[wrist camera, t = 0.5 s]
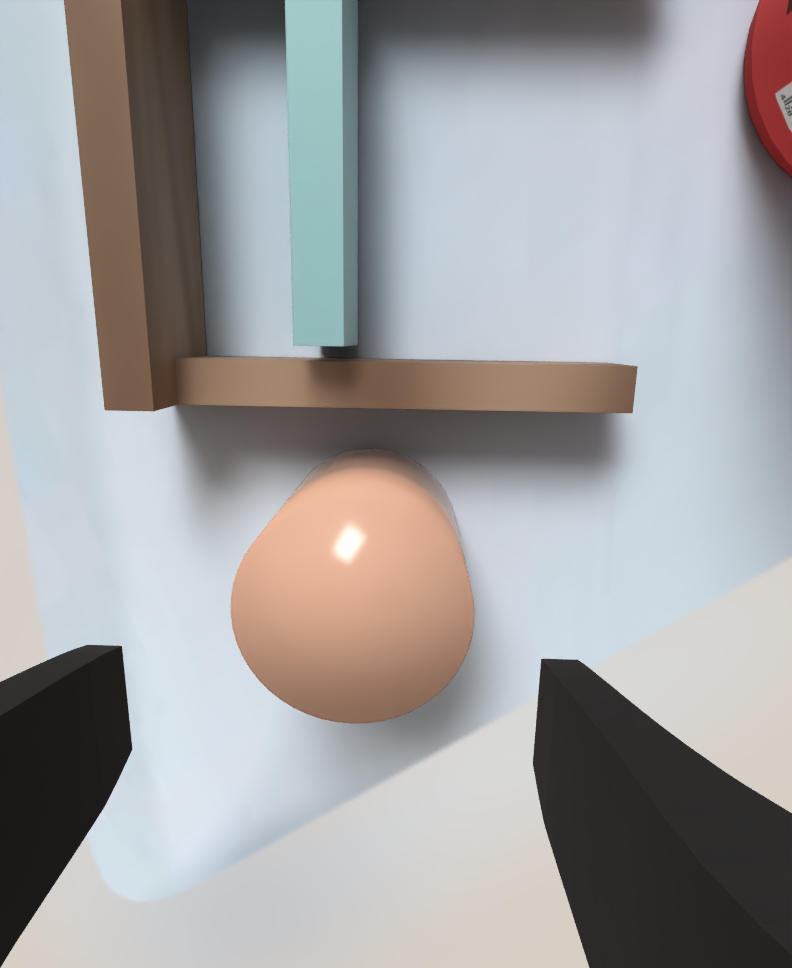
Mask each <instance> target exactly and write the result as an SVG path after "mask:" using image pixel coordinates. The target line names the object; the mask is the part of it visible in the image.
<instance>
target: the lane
mask: <svg viewBox="0 0 792 968" xmlns="http://www.w3.org/2000/svg"><path fill="white" fill-rule="evenodd" d="M64 5H65V15H66V25H67V35H68V45H69V55H70V65H71V75H72V85H73V96H74V106H75V116H76V126H77V136H78V146H79V156H80V166H81V176H82V186H83V196H84V206H85V216H86V226H87V236H88V246H89V256H90V266H91V276H92V286H93V296H94V306H95V316H96V327H97V337H98V347H99V357H100V367H101V377H102V387H103V397H104V407H105V410H119V411H156V410H160V409H163V408H167V407H171V406H174V405H226V406H278V407H331V408H383V409H436V410H488V411H540V412H593V413H632V412H633V403H634V394H635V385H636V375H637V366H630V365H621V364H613V363H593V362H534V361H475V360H415V359H356V358H297V357H237V356H207V351H206V334H205V316H204V299H203V282H202V265H201V248H200V230H199V213H198V196H197V179H196V161H195V144H194V127H193V110H192V92H191V75H190V58H189V41H188V24H187V6H186V0H64Z"/></svg>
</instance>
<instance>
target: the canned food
mask: <svg viewBox="0 0 792 968" xmlns="http://www.w3.org/2000/svg"><path fill="white" fill-rule="evenodd" d="M744 71H745V93H746V98H747V102H748V107H749V112H750V117H751V119H752V122H753V124H754V126H755V129H756V131H757V133H758V136H759V138H760V140H761V143H762V144H763V145H764V147H765V148H766V150H767V151H768V152H769V154H770V155H771V157H772V158H773V159H774V161H775V162H776V164H777V165H778V166H780V167H781V168H782V169H783V170H784V171H785V172H786V173H787V174H788V175H790V176H791V177H792V0H759V3H758V6H757V9H756V12H755V14H754V17H753V20H752V23H751V26H750V29H749V35H748V41H747V46H746V52H745V58H744Z"/></svg>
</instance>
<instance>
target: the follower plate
mask: <svg viewBox="0 0 792 968" xmlns="http://www.w3.org/2000/svg"><path fill="white" fill-rule="evenodd" d="M285 24H286V65H287V106H288V147H289V188H290V229H291V269H292V310H293V346H352V345H358V0H285Z"/></svg>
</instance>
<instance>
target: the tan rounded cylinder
mask: <svg viewBox="0 0 792 968" xmlns="http://www.w3.org/2000/svg"><path fill="white" fill-rule="evenodd" d="M231 618H232V626H233V631H234V634H235V638H236V642H237V644H238V647H239V649H240V651H241V654H242V656H243V658H244V659H245V661H246V663H247V664H248V666H249V668H250V669H251V671H252V672H253V673H254V674H255V676H256V677H257V678H258V680H259V681H260V682H261V683H262V684H263V685H264V686H265V687H266V688H267V689H268V690H269V691H270V692H272V693H273V694H274V695H276V696H277V697H278V698H279V699H281V700H282V701H284V702H285V703H287V704H289V705H290V706H292V707H293V708H296V709H298V710H300V711H302V712H304V713H306V714H309V715H312V716H315V717H318V718H321V719H325V720H330V721H335V722H343V723H371V722H378V721H384V720H387V719H391V718H395V717H398V716H401V715H403V714H406V713H408V712H411V711H412V710H414V709H416V708H418V707H420V706H422V705H423V704H425V703H426V702H428V701H429V700H430V699H432V698H433V697H434V696H436V695H437V694H438V693H439V692H440V691H441V690H442V689H443V688H444V687H445V686H446V685H447V684H448V683H449V682H450V680H451V679H452V678H453V677H454V675H455V674H456V672H457V671H458V669H459V667H460V666H461V664H462V662H463V660H464V658H465V656H466V653H467V651H468V649H469V645H470V642H471V638H472V634H473V626H474V602H473V596H472V590H471V586H470V581H469V577H468V572H467V568H466V564H465V559H464V555H463V550H462V546H461V541H460V537H459V532H458V528H457V524H456V519H455V515H454V511H453V508H452V505H451V502H450V500H449V498H448V496H447V494H446V492H445V490H444V489H443V487H442V486H441V484H440V483H439V482H438V481H437V479H436V478H435V477H434V476H433V475H432V474H431V473H430V472H429V471H428V470H427V469H425V468H424V467H423V466H421V465H420V464H418V463H417V462H416V461H414V460H412V459H410V458H408V457H406V456H403V455H401V454H398V453H395V452H391V451H386V450H380V449H359V450H353V451H348V452H345V453H341V454H338V455H336V456H334V457H332V458H330V459H327V460H326V461H324V462H323V463H321V464H320V465H318V466H317V467H316V468H315V469H313V470H312V471H311V472H310V473H309V474H308V475H307V476H306V477H305V479H304V480H303V481H302V482H301V483H300V485H299V486H298V487H297V488H296V490H295V491H294V492H293V493H292V495H291V496H290V497H289V498H288V500H287V501H286V502H285V503H284V505H283V506H282V507H281V508H280V510H279V511H278V512H277V514H276V515H275V516H274V517H273V519H272V520H271V521H270V522H269V524H268V525H267V526H266V527H265V529H264V530H263V531H262V532H261V534H260V535H259V536H258V537H257V539H256V540H255V541H254V542H253V544H252V545H251V547H250V548H249V550H248V551H247V553H246V554H245V556H244V558H243V560H242V562H241V564H240V566H239V568H238V571H237V574H236V577H235V580H234V583H233V589H232V595H231Z"/></svg>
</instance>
